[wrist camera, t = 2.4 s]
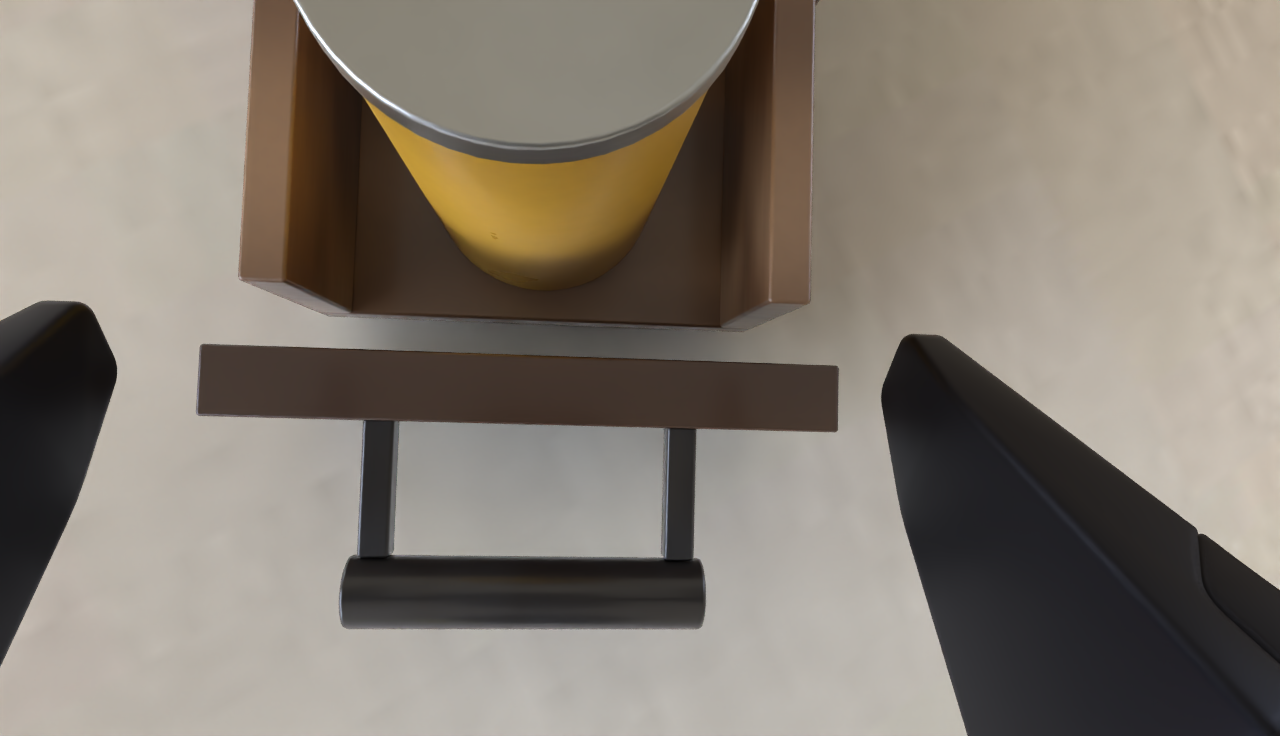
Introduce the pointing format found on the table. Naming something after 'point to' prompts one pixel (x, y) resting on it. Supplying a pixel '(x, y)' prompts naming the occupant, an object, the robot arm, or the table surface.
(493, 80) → the tin
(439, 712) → the table surface
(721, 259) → the drawer
